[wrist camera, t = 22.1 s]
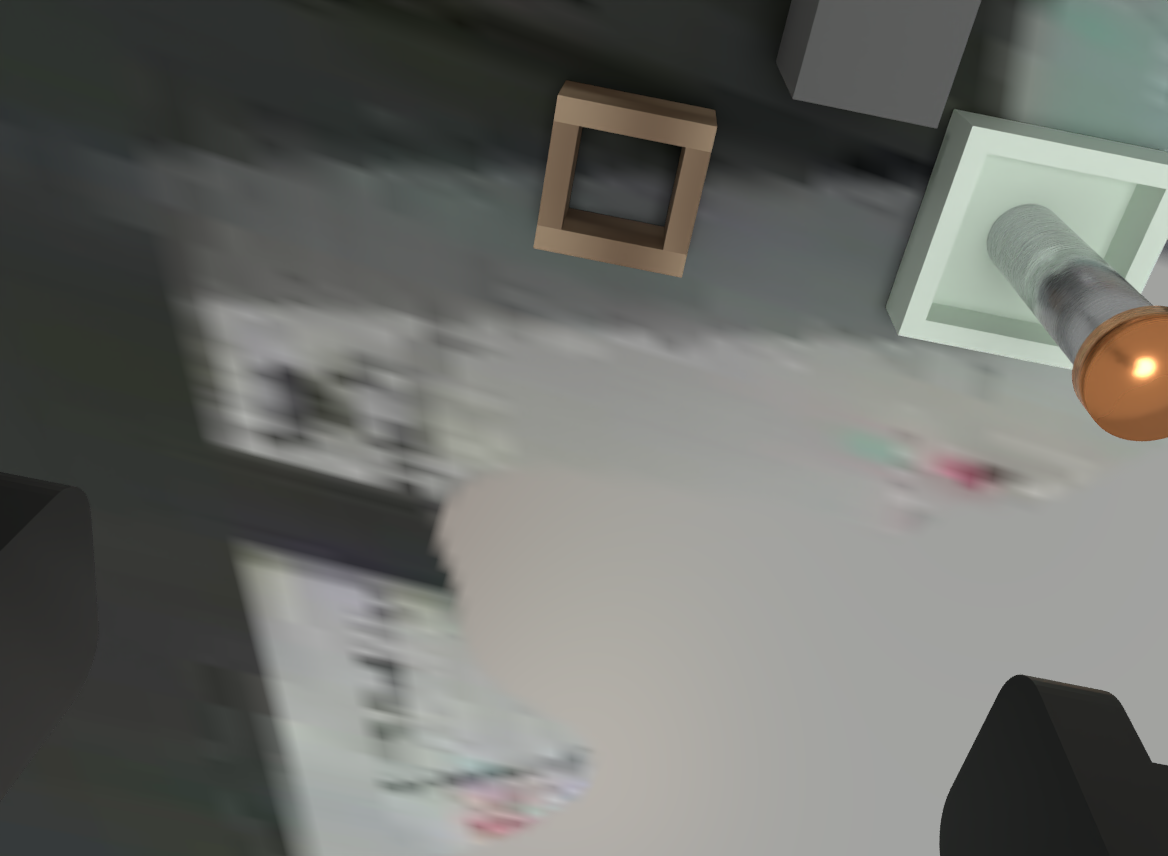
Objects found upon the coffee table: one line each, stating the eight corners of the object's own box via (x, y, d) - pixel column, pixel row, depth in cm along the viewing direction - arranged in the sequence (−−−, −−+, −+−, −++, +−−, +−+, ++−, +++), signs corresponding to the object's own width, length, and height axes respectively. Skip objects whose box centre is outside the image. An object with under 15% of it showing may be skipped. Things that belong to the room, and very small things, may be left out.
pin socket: (542, 225, 36) (533, 248, 34) (566, 80, 34) (557, 94, 32) (681, 252, 36) (681, 277, 34) (714, 110, 34) (717, 126, 32)
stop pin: (960, 274, 35) (1064, 427, 26) (994, 183, 34) (1118, 310, 24) (1052, 292, 35) (1190, 452, 26) (1090, 201, 34) (1252, 335, 24)
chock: (775, 62, 33) (792, 98, 28) (820, -111, 31) (848, -106, 25) (897, 87, 33) (936, 128, 28) (951, -84, 31) (1006, -74, 25)
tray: (885, 307, 37) (898, 335, 34) (953, 108, 33) (972, 125, 31) (1077, 345, 37) (1102, 375, 34) (1165, 151, 33) (1199, 171, 31)
